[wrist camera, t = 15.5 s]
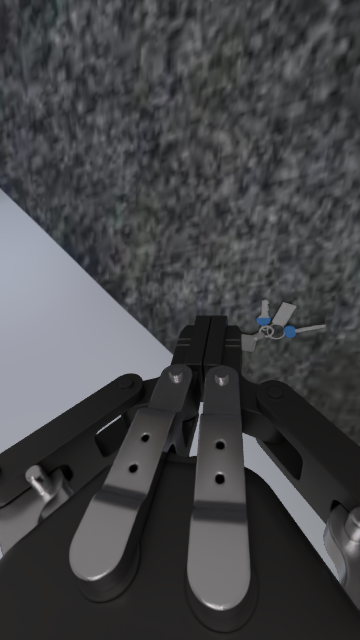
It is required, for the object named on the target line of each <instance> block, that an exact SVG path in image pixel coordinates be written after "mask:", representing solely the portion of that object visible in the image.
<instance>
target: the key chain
mask: <svg viewBox="0 0 360 640" xmlns="http://www.w3.org/2000/svg"><path fill="white" fill-rule="evenodd" d="M268 303H269V302H268V300H263V301H262V311H261V315H260V316H259V317H257V319H256V320H257V323H258V324H259V325H262V327H261V328H260V329H259V332H258V333H256V334H254V335H246V334H242V350H243V351H249V352H253V351H254V349H255V345H256V341H258V340H259V339H262V338H264V337H271V336H272V335H273V333H274V329H273V328H272V327H271V326H272V325H274V324H276V325H280V326H282V327H283V326H284V325H285V324H286V323H287V321H288V319H289V318H290V316H291V315H292V313H293V311H294V310H295V308H296V307H297V306H295V305H291V304H288V303H285V302H283V304H282V305H281V307H280V309H279V310H278V312H277V314H276V315H275V317H274V319H273V321H272V322H273V323H274V324H272V325H270V326H268V325H267V324H269V323H270V321H271V318H270V316H268V315H269V313H268V312H267V311H268V310H269V308H267V307H269V306H267V305H268ZM277 323H278V324H277ZM264 325H266V326H264ZM266 327H267V329H266V330H267V334H268V329H269V328H270V329H271V330H272V333H271V334H270V335H269V334H268V335H264V334H263V332H262V331H261V330H264V329H263V328H266ZM322 327H326V325H316V326H312V327H304V328H300V329H295V327H294V326H286V327H285V328H284V327H283V328H284V329H283V334H284V335H283V336H286V337H288V338H292V337H294V336H295V335H296V333H297V332H302V331H306V330H307V331H308V330H313V329H318V328H322ZM266 330H264V331H266ZM283 336H282V337H283ZM282 337H280V338H282ZM271 338H272V337H271ZM280 338H273V339H280Z"/></svg>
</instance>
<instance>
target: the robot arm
mask: <svg viewBox="0 0 360 640" xmlns="http://www.w3.org/2000/svg"><path fill="white" fill-rule="evenodd" d="M241 369H242V332H241V331H240V329H239V327H238V326H228V319H227V316H197V317H196V321H195V324H194V325H187V326H186V327H185V328H184V329H183V330H182V331H181V333H180V336H179V340H178V342H177V346H176V349H175V352H174V355H173V359H172V362H171V365H170V366H168V367H167V368H165V369H164V370H163V371H162V373H161V376H160V377H158V378H154V379H150V380H145V381H143V380H142V378H141V377H140V376H139V375H137V374H132V373H131V374H125V375H122V376H120V377H118V378H117V379H115V380H114V381H112V382H111V383H109V384H107V385H106V386H104V387H103V388H101V389H100V390H98V391H97V392H95V393H94V394H92V395H90V396H89V397H87V398H86V399H84V400H83V401H81V402H80V403H78V404H76V405H75V406H74V407H72V408H70V409H69V410H67V411H66V412H64V413H63V414H61V415H59V416H58V417H56V418H55V419H53V420H52V421H51V422H49V423H47V424H46V425H44V426H42V427H41V428H40V429H38V430H36V431H35V432H33V433H32V434H30V435H29V436H27V437H25V438H24V439H22V440H21V441H19V442H18V443H16V444H15V445H13V446H12V447H10V448H8V449H7V450H5V451H4V452H2V453H1V454H0V547H1V551H2V554H3V557H2V558H1V560H0V640H360V447H359V446H358V445H357V444H356V443H355V442H354V441H352V440H351V439H350V438H349V437H348V436H347V435H345V434H344V433H343V432H342V431H341V430H340V429H338V428H337V427H336V426H335V425H334V424H333V423H331V422H330V421H329V420H328V419H327V418H326V417H324V416H323V415H322V414H321V413H320V412H319V411H317V410H316V409H315V408H314V407H313V406H312V405H310V404H309V403H308V402H307V401H306V400H305V399H303V398H302V397H301V396H300V395H299V394H298V393H296V392H295V391H294V390H293V389H292V388H291V387H289V386H288V385H287V384H285V383H283V382H280V381H275V380H270V381H265V382H263V383H261V384H260V385H257V384H254V383H251V382H249V381H247V380H246V379H245V378H244V377H243V376H242V374H241ZM200 402H203V414H201V416H200V425H199V439H198V453H197V456H192V457H189V453H190V449H191V445H192V441H193V437H194V433H195V430H196V426H197V422H198V418H199V413H198V411H199V406H200ZM119 415H121V417H120V418H119V419H117V420H116V421H115V422H113V423H112V424H110V425H109V426H108V427H106V428H105V429H103V430H102V431H101V432H99V433H98V434H96V433H97V432H98V431H99V430H100V429H101V428H103V427H104V426H106V425H107V424H108V423H110V422H111V421H112V420H114V419H115V418H117V417H118V416H119ZM242 433H245V434H248V435H250V436H253V437H255V438H256V440H257V443H258V444H259V445H260V447H261V448H262V449H263V450H264V451H265V452H266V454H267V455H268V456H269V457H270V458H271V459H272V461H273V462H274V463H275V464H276V466H277V467H278V468H279V469H280V470H281V471H282V473H283V474H284V475H285V476H286V477H287V479H288V480H289V481H290V482H291V483H292V485H293V486H294V487H295V488H296V489H297V491H298V492H299V493H300V494H301V495H302V496H303V498H304V499H305V500H306V501H307V502H308V504H309V505H310V506H311V507H312V508H313V510H314V511H315V512H316V513H317V514H318V515H319V517H320V518H321V519H322V520H323V521H324V523H325V524H326V528H325V531H324V536H323V537H324V545H325V548H326V551H327V553H328V555H329V556H330V558H331V559H332V561H333V562H334V564H335V567H336V569H337V572H338V575H339V581H338V580H337V579H336V577H335V576H334V575H333V573H332V572H331V570H330V569H329V568H328V566H327V565H326V563H325V562H324V561H323V559H322V558H321V557H320V555H319V554H318V552H317V551H316V550H315V548H314V547H313V545H312V544H311V543H310V541H309V540H308V538H307V537H306V536H305V534H304V533H303V532H302V530H301V529H300V527H299V526H298V525H297V523H296V522H295V520H294V519H293V518H292V516H291V515H290V514H289V512H288V511H287V509H286V508H285V507H284V505H283V504H282V502H281V501H280V500H279V498H278V497H277V495H276V494H275V493H274V491H273V490H272V489H271V488H270V486H269V485H268V484H267V483H266V482H265V481H264V479H262V478H261V477H260V476H259V475H258V474H256V473H255V472H253V471H252V470H250V469H248V468H246V467H244V456H243V439H242Z"/></svg>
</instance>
